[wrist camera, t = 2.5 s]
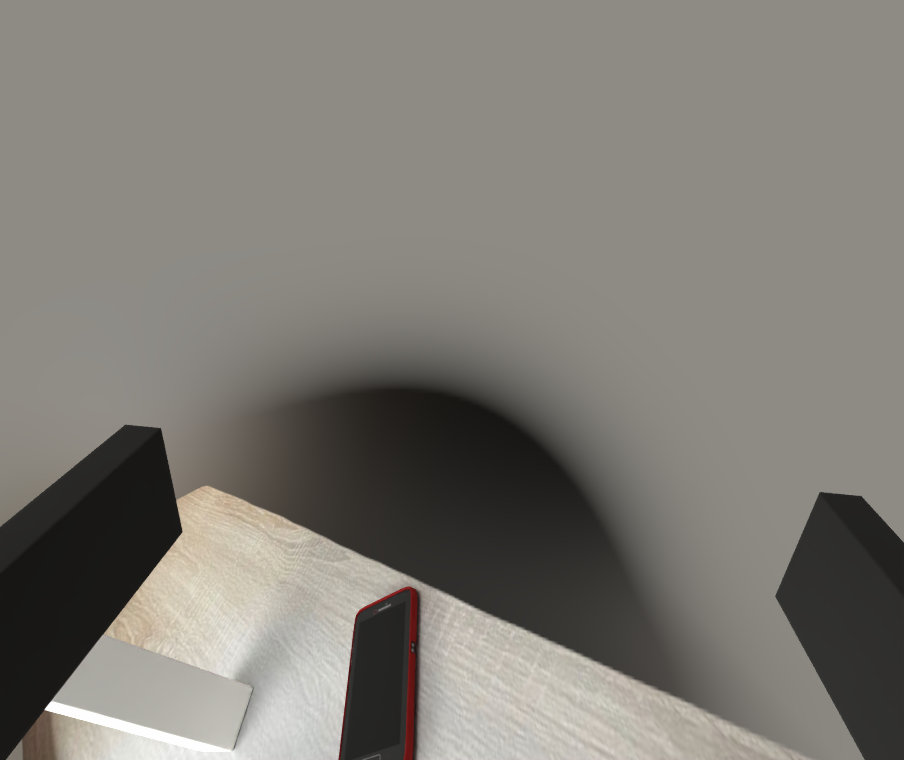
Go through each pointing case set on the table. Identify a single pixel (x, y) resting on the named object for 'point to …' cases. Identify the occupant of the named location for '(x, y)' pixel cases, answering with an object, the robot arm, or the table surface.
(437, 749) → the table surface
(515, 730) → the table surface
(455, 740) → the table surface
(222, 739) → the milk
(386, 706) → the cell phone
